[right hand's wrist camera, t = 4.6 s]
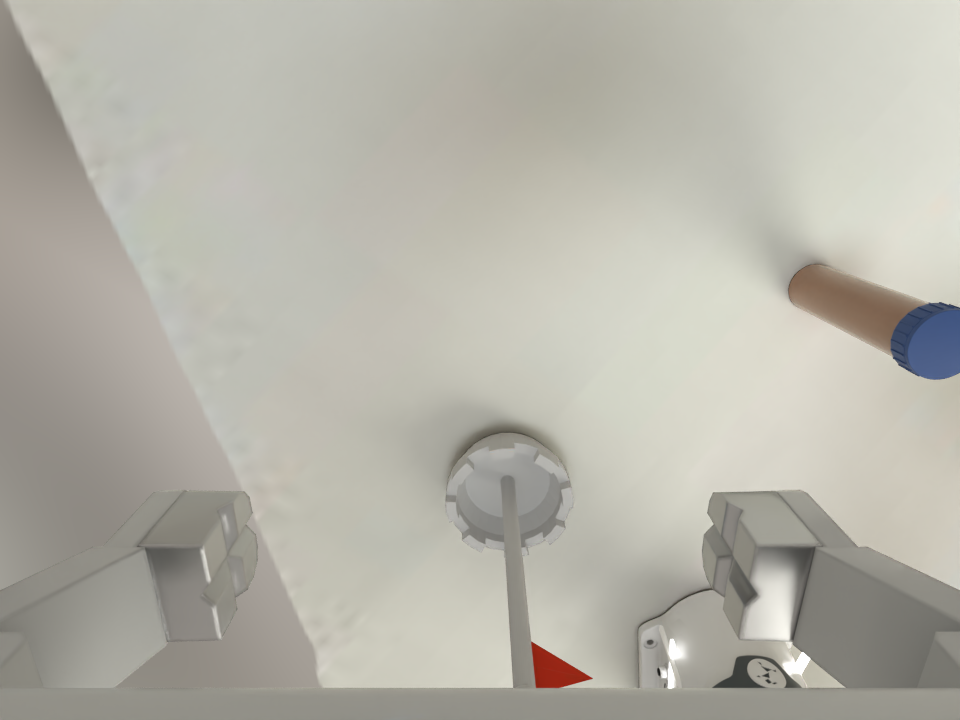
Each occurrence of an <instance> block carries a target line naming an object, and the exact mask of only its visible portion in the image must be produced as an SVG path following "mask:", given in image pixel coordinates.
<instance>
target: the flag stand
mask: <svg viewBox="0 0 960 720" xmlns="http://www.w3.org/2000/svg"><path fill="white" fill-rule="evenodd" d="M445 502H446V513H447V517H448V520H449V522H453V523H454V524H455V526H456V527H457V528H458V529H459V530H460V532H461V533H462V541H463V542H465V543H466V544H467V545H469V546H470V547H472V548H473V549H475V550H477V551H479V552H482V551H483V549H484V547H488V548H491V549H496V550H504V555H505V559H506V575H507V592H508V608H509V624H510V641H511V657H512V673H513V688H561V687H564V686H568V685H571V684H575V683H579V682H582V681H586V680H590V679H593V678H591V677H590V676H588V675H586V674H585V673H583V672H581V671H580V670H578V669H576V668H575V667H573V666H571V665H570V664H568V663H566V662H565V661H563V660H561V659H560V658H558V657H556V656H555V655H553V654H551V653H550V652H548V651H546V650H545V649H543V648H541V647H540V646H538V645H536V644H535V643H533V642H531V636H530V626H529V617H528V607H527V597H526V587H525V578H524V568H523V558H522V556H525V555H529V554H528V548H529V547H531V546H534V545H537V544H539V543H541V542H543V541H544V540H546V541H547V542H548V543H549V544H551V543H553V542H554V541H555V540H556V539H557V538H558V537H559V536H560V535H561V534H562V532H563V531H564V530H565V529H566V528H565V524H564V521H565V519H566V517H567V515H568V513H569V510H570V508H573V493H572V489H571V485H570V481H569V477H568V474H567V472H566V470H565V468H564V465H563V464H562V463H561V461H560V460H559V459H558V457H557V456H556V455H555V454H553V453H552V452H551V451H550V450H549V449H547V448H546V447H544V446H543V445H542V444H541V443H539V442H538V441H536V440H535V439H533V438H531V437H528V436H525V435H522V434H517V433H498V434H494V435H490V436H488V437H485V438H483V439H481V440H479V441H478V442H476V443H475V444H474V445H472V446H471V447H470V448H469V449H468V450H467V452H466V453H465V454H464V455H463V456H462V457H461V458H460V459H459V460H458V461H457V463H456V464H455V466H454V467H453V469H452V471H451V473H450V476H449V478H448V484H447V491H446V501H445Z"/></svg>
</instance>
